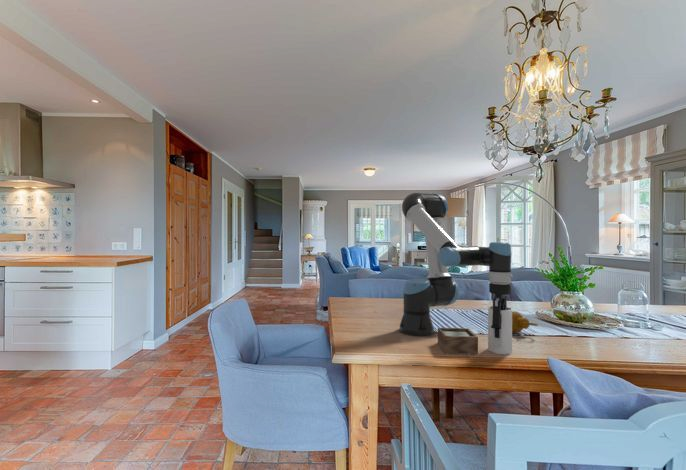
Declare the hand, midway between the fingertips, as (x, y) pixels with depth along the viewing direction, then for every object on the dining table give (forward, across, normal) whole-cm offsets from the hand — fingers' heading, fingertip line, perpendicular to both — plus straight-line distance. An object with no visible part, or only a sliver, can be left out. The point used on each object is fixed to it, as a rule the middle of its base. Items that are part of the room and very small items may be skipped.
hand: (499, 343), depth 128 cm
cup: (+3, 0, 0) cm, 3 cm away
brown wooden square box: (+3, -7, +14) cm, 16 cm away
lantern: (+3, +31, +1) cm, 31 cm away
